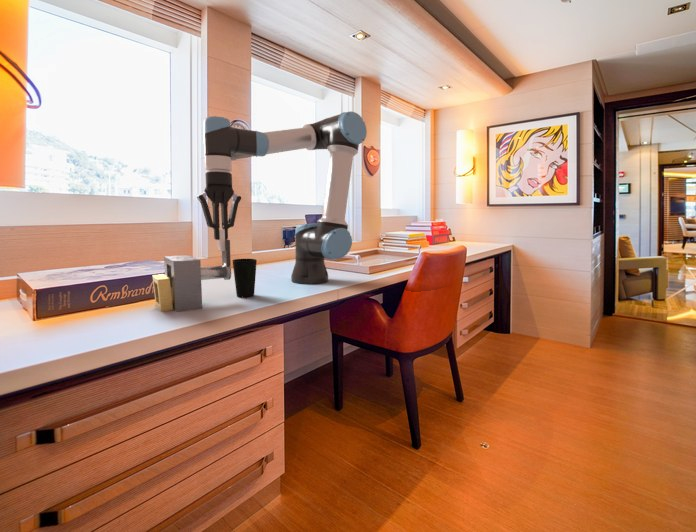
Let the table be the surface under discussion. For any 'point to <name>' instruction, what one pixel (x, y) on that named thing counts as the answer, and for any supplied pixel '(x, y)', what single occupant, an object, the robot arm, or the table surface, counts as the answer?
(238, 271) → the cup
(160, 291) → the block
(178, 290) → the block
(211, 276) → the shaft
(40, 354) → the table surface
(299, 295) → the table surface
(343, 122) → the robot arm
